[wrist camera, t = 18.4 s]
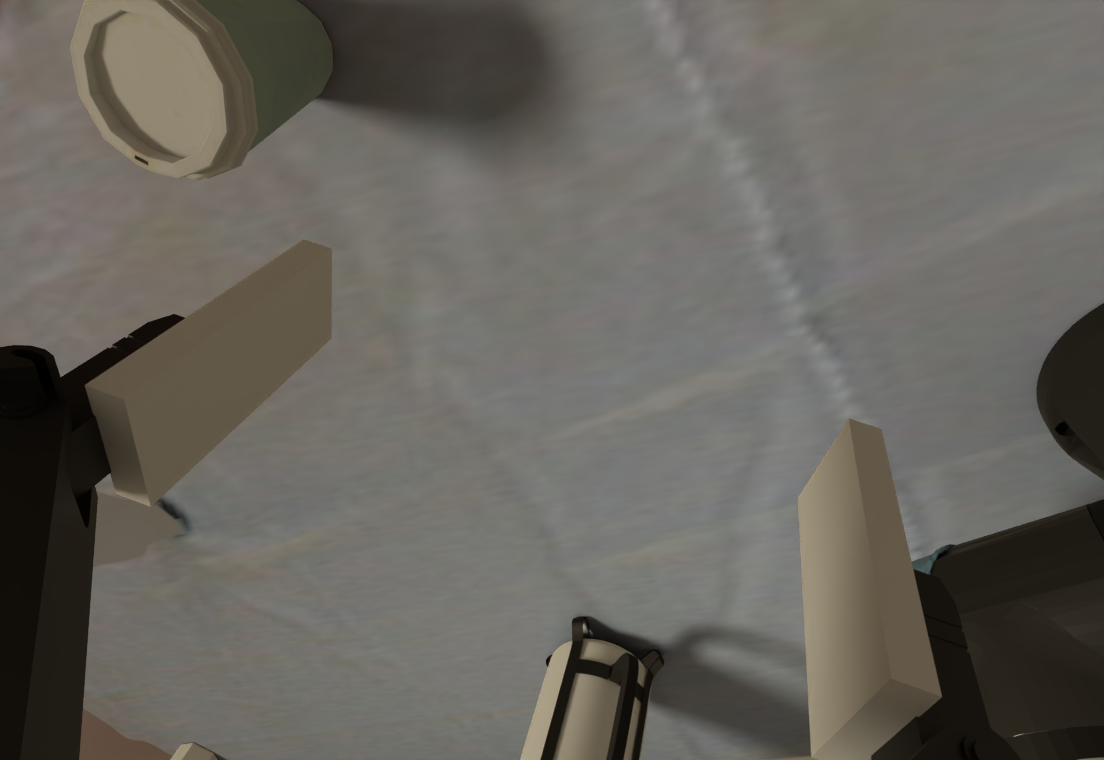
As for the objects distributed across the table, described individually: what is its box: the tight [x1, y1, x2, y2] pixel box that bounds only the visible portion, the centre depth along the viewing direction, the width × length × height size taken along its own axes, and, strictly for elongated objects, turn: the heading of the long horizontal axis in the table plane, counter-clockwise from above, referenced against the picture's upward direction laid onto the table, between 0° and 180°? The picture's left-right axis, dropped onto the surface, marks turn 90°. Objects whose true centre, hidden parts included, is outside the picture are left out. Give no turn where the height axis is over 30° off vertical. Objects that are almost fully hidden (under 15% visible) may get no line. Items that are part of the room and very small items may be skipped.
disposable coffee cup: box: [70, 0, 333, 180], centre depth 41 cm, size 11×11×15 cm
